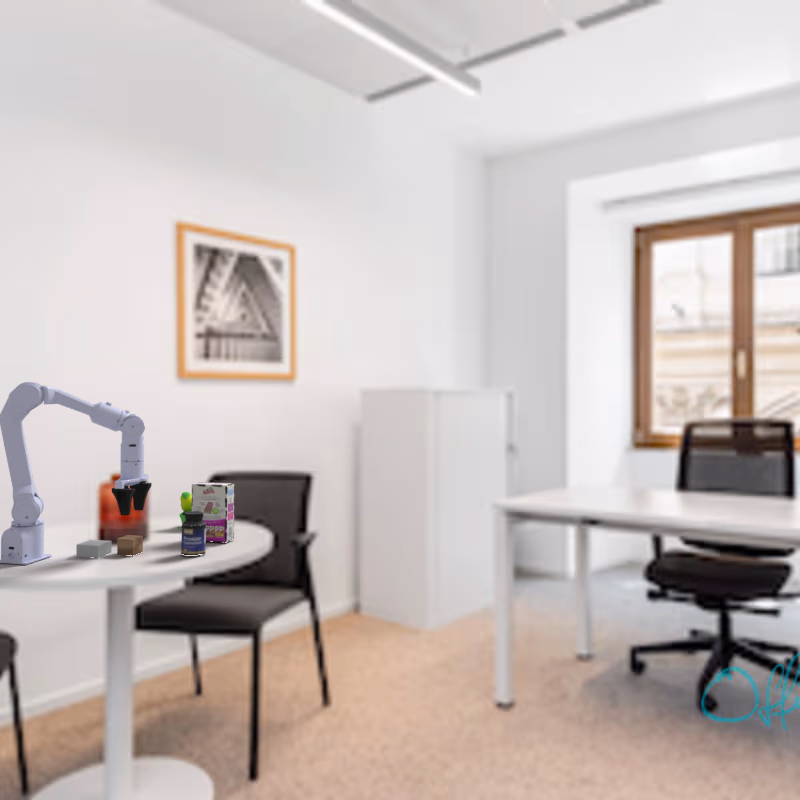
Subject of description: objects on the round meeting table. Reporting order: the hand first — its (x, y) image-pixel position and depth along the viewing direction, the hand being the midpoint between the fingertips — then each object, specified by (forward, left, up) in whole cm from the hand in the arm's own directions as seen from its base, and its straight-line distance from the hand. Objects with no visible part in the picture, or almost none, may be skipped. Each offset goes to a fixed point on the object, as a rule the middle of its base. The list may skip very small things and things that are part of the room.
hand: (132, 512), depth 185 cm
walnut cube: (-2, -1, -11) cm, 11 cm away
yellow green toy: (+35, 0, -11) cm, 36 cm away
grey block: (-5, +7, -11) cm, 14 cm away
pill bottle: (+2, -17, -11) cm, 20 cm away
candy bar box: (+19, -14, -11) cm, 25 cm away
